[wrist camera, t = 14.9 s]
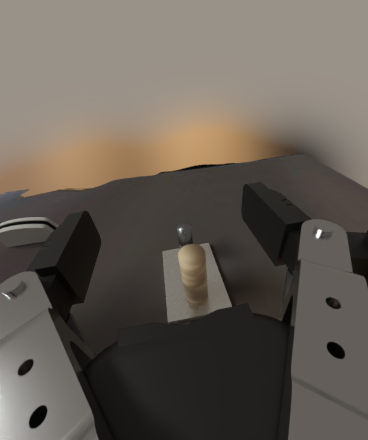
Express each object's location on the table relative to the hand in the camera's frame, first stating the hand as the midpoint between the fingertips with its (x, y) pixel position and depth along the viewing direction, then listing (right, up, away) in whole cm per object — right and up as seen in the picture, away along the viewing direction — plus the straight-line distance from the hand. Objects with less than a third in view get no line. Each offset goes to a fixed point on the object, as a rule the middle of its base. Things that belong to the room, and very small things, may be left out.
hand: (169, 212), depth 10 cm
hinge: (-46, -7, +50) cm, 68 cm away
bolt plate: (+3, -13, +32) cm, 35 cm away
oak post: (+3, -15, +28) cm, 32 cm away
